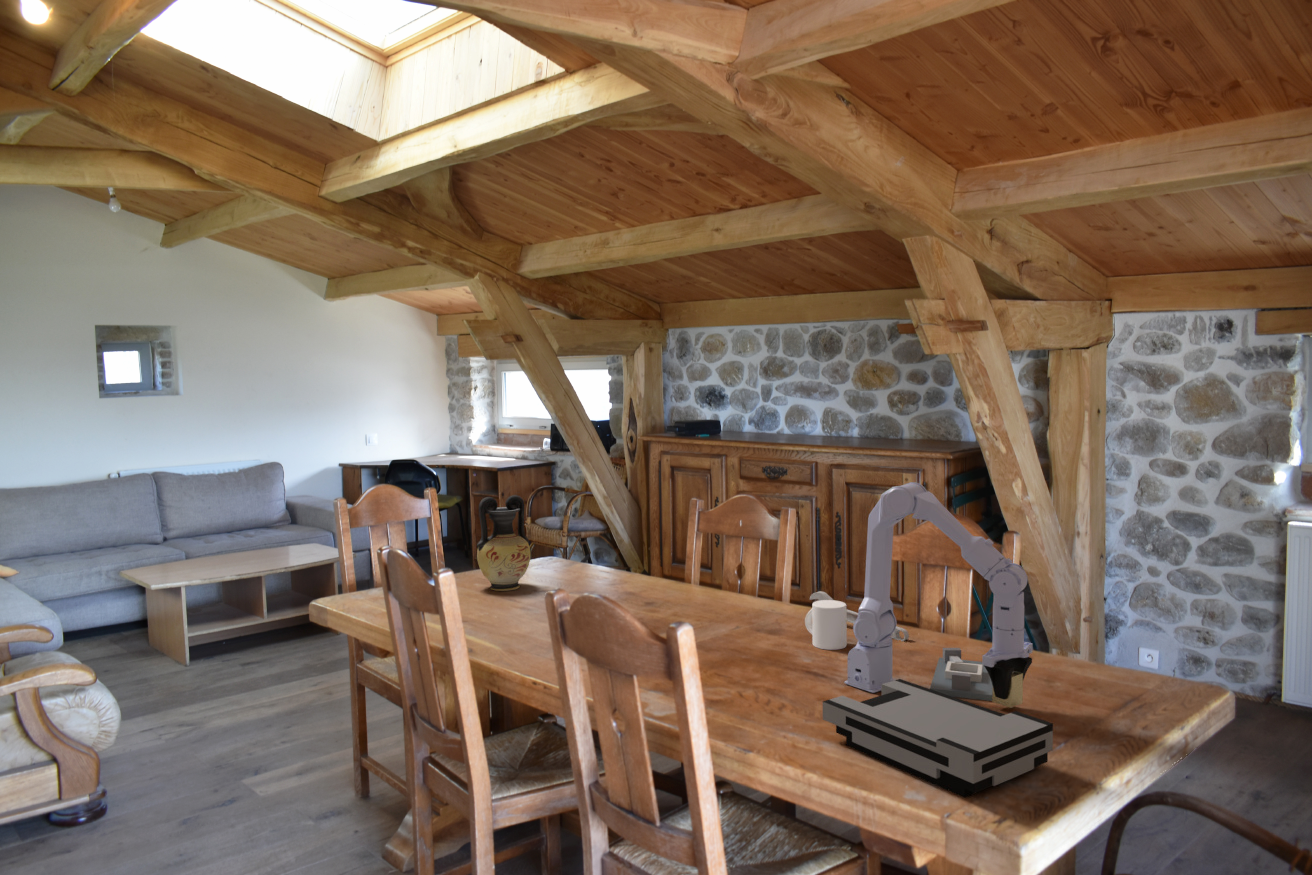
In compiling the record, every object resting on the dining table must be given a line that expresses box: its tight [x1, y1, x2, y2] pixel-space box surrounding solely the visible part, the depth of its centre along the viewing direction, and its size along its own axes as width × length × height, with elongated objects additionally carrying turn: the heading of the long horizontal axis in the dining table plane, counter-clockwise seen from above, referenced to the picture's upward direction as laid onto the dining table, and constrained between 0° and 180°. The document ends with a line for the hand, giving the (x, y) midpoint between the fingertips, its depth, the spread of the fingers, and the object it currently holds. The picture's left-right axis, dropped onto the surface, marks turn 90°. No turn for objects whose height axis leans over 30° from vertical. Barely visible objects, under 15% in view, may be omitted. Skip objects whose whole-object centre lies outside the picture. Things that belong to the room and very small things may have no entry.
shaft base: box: [929, 647, 993, 702], centre depth 189 cm, size 22×12×4 cm, turn 157°
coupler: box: [991, 670, 1024, 709], centre depth 172 cm, size 4×4×7 cm
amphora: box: [476, 494, 531, 592], centre depth 284 cm, size 18×17×30 cm
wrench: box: [809, 590, 910, 642], centre depth 230 cm, size 8×2×30 cm
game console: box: [822, 678, 1054, 798], centre depth 152 cm, size 21×32×8 cm, turn 34°
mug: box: [804, 599, 848, 651], centre depth 218 cm, size 8×10×12 cm
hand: (1007, 695), depth 172 cm, fingers closed on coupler, 4 cm apart
